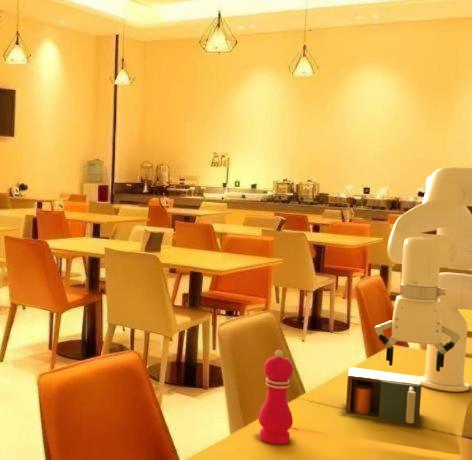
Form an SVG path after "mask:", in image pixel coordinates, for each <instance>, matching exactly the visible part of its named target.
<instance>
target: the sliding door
mask: <svg viewBox="0 0 472 460" xmlns="http://www.w3.org/2000/svg"><path fill="white" fill-rule="evenodd" d="M419 389H420V385H413V384H405V383H398V382H390V381H382V380H381V390H380V405H379V417H378V420H381V421H382V420H383V421H389V422H394V423H395V422H396V423H402V424H407V425H408V424H409V425H413V426H414V425H415V426H417V425H418V423H417V417H418V403H419Z"/></svg>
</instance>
